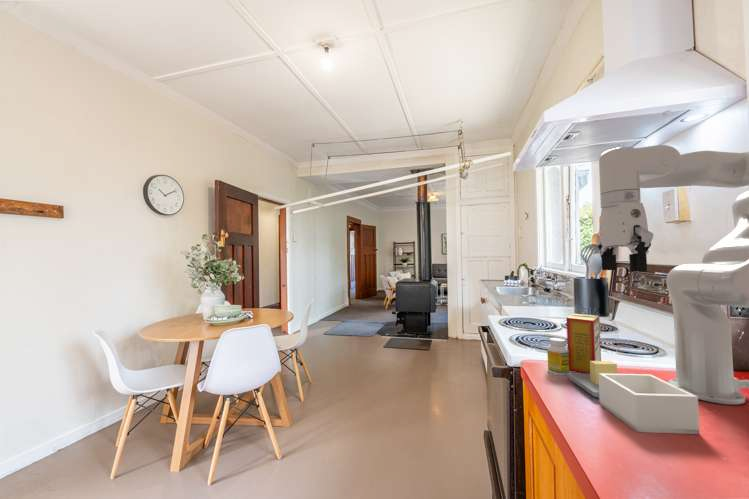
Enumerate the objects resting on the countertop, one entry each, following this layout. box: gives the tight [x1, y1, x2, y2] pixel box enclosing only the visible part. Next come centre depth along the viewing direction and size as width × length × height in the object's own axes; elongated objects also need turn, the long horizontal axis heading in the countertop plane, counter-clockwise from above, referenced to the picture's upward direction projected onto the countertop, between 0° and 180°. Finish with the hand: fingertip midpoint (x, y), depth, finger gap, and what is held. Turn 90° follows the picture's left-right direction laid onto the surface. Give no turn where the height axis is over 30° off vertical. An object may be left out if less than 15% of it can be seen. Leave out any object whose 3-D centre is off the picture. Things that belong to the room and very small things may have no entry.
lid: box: [566, 360, 618, 399], centre depth 76 cm, size 12×12×7 cm
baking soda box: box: [566, 313, 602, 374], centre depth 90 cm, size 10×6×16 cm
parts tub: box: [598, 373, 701, 435], centre depth 63 cm, size 11×11×7 cm
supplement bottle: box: [546, 337, 570, 376], centre depth 88 cm, size 5×5×10 cm
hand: (622, 270), depth 72 cm, fingers open, 9 cm apart
